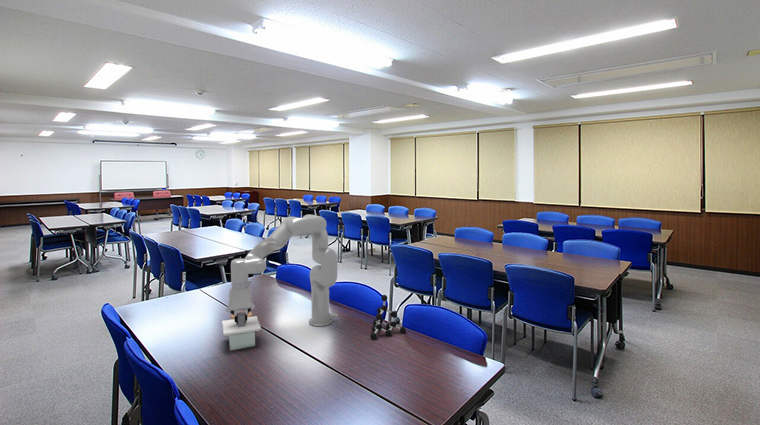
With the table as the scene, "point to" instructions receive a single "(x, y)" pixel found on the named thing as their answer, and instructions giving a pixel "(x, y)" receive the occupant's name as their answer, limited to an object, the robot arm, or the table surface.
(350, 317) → the table surface
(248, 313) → the lidded jar
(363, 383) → the table surface
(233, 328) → the lid
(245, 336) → the pale green open bin
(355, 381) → the table surface
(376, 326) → the molecular model
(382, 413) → the table surface
